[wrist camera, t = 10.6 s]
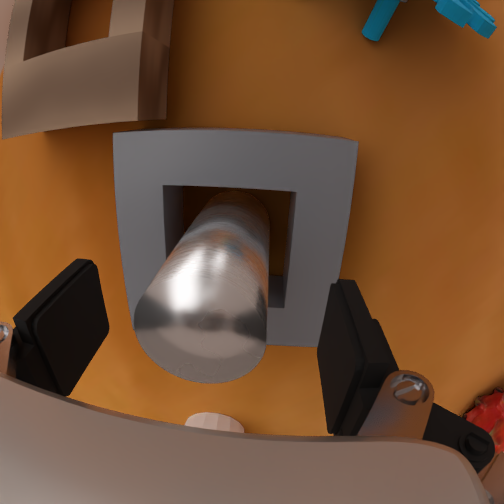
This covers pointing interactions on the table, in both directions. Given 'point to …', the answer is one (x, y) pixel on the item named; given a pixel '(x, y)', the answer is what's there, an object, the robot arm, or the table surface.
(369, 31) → the gear
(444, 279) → the table surface
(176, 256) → the axle
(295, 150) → the socket block
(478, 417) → the dragon fruit
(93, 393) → the table surface
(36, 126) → the brown rectangular frame
